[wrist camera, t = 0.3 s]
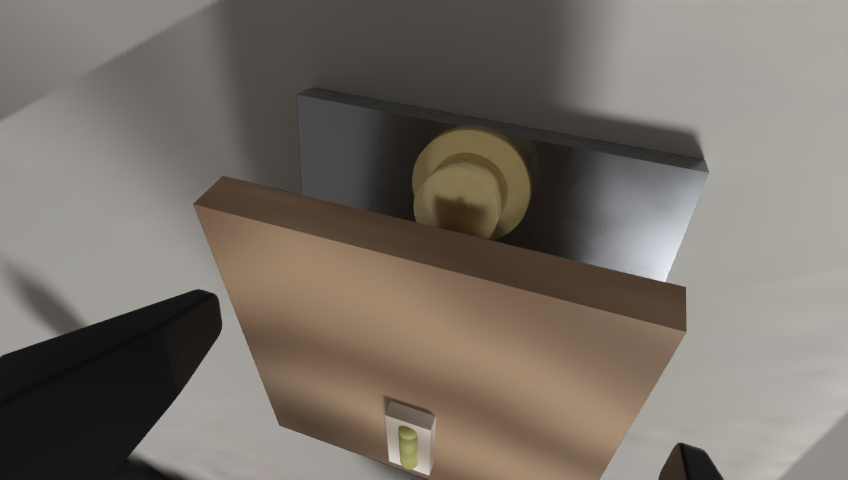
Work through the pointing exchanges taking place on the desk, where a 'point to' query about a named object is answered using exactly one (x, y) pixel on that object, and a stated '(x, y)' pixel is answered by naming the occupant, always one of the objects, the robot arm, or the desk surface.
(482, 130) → the base
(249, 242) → the top plate
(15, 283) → the desk surface
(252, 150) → the desk surface
